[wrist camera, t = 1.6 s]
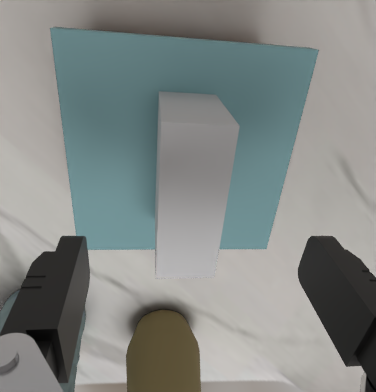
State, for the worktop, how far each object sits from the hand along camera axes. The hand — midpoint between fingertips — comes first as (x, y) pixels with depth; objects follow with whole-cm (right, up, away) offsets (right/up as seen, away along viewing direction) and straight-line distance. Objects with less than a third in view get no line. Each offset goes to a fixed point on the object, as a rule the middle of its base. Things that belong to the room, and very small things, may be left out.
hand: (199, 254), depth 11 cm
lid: (-1, +5, +9) cm, 10 cm away
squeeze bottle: (-4, -13, +27) cm, 30 cm away
